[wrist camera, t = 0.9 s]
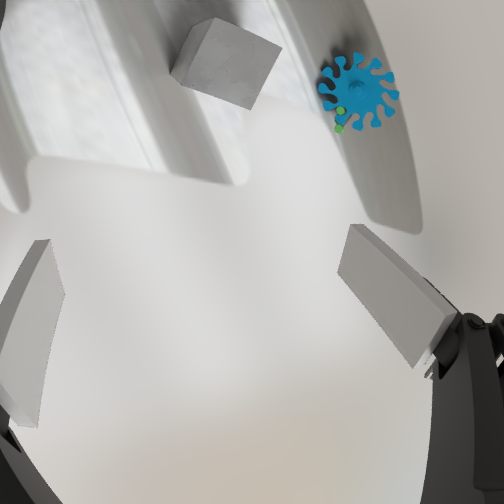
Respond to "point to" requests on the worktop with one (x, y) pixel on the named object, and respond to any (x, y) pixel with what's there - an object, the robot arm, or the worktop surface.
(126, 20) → the worktop surface
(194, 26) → the brushed metal block
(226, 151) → the worktop surface
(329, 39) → the worktop surface
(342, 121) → the gear
